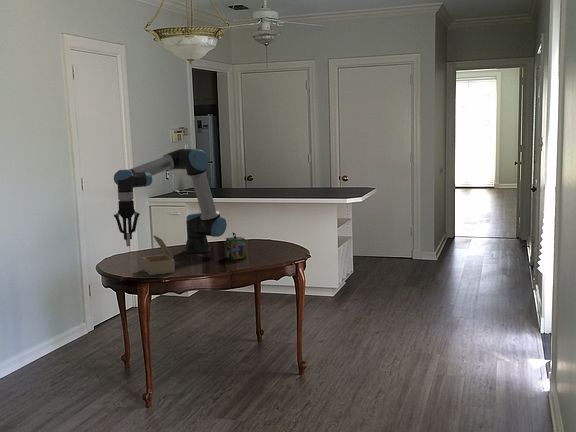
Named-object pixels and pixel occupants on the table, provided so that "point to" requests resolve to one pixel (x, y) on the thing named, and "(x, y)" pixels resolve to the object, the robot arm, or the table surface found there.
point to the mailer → (158, 264)
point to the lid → (163, 246)
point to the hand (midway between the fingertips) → (128, 245)
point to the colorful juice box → (236, 247)
